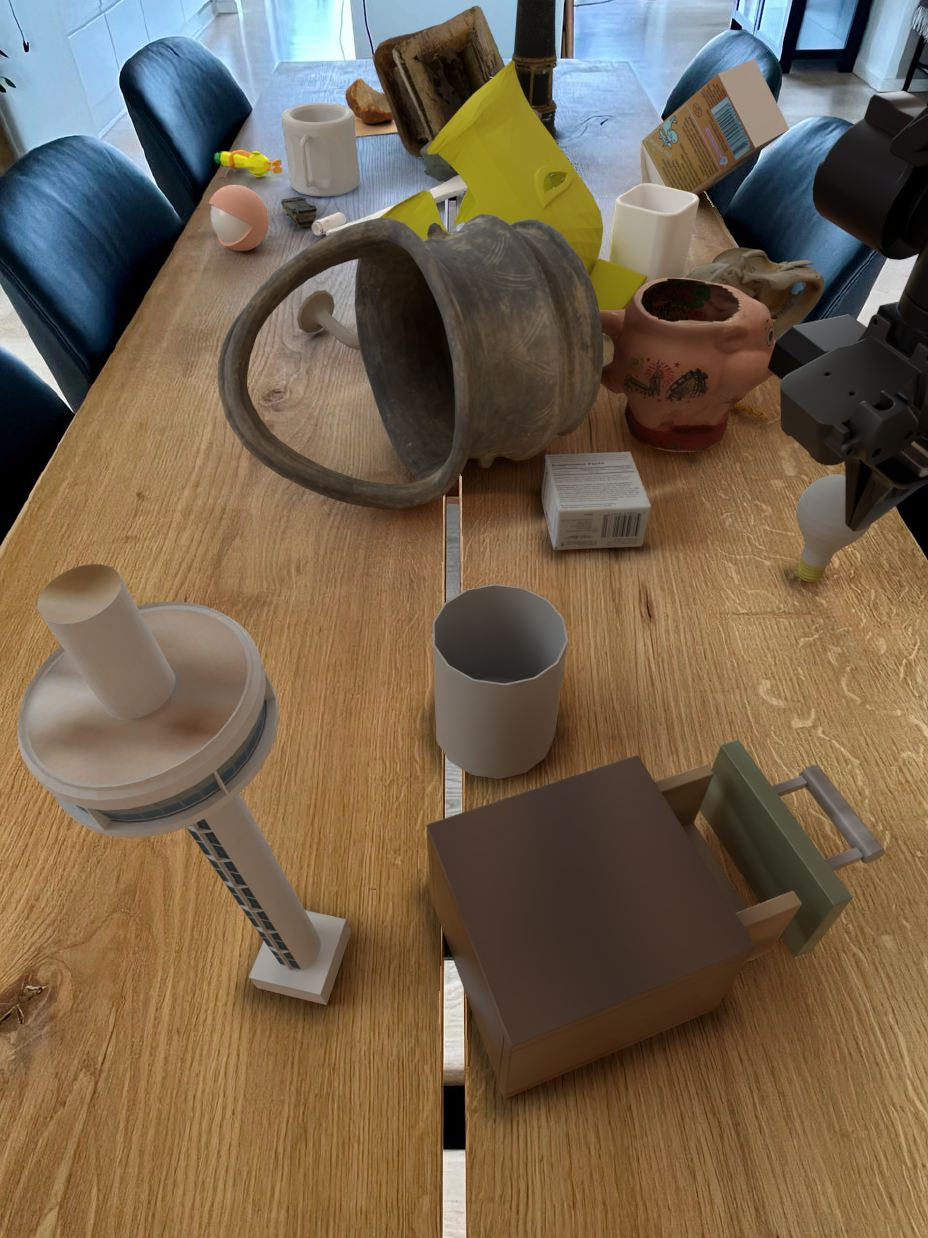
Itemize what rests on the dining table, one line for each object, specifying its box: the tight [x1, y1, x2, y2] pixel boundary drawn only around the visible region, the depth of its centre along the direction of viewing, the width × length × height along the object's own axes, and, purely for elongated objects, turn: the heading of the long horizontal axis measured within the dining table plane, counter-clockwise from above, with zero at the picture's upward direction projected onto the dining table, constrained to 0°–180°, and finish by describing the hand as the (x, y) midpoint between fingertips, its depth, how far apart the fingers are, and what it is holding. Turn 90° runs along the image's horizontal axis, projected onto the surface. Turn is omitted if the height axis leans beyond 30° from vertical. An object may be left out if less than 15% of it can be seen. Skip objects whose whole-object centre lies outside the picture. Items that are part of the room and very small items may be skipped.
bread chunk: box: [345, 77, 398, 137], centre depth 149 cm, size 15×11×11 cm
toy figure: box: [214, 149, 283, 179], centre depth 132 cm, size 7×4×12 cm
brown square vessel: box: [371, 5, 506, 159], centre depth 138 cm, size 22×24×20 cm
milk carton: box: [639, 58, 790, 196], centre depth 122 cm, size 11×11×19 cm
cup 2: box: [608, 183, 700, 285], centre depth 92 cm, size 7×7×15 cm
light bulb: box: [796, 473, 872, 583], centre depth 66 cm, size 6×5×10 cm
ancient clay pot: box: [216, 214, 604, 511], centre depth 72 cm, size 22×23×30 cm
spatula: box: [325, 175, 468, 236], centre depth 121 cm, size 28×4×2 cm, turn 137°
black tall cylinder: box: [511, 0, 558, 139], centre depth 136 cm, size 9×9×30 cm
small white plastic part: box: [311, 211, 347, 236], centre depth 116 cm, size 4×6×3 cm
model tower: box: [17, 563, 352, 1006], centre depth 36 cm, size 8×8×30 cm
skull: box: [685, 247, 825, 341], centre depth 91 cm, size 12×18×12 cm
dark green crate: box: [280, 196, 318, 228], centre depth 119 cm, size 4×8×2 cm, turn 25°
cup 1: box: [432, 583, 569, 780], centre depth 55 cm, size 8×8×10 cm
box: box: [540, 450, 652, 551], centre depth 72 cm, size 8×4×9 cm
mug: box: [280, 102, 361, 197], centre depth 125 cm, size 14×11×10 cm
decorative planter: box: [599, 277, 776, 453], centre depth 79 cm, size 20×12×14 cm, turn 87°
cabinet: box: [425, 754, 756, 1100], centre depth 45 cm, size 13×12×9 cm
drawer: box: [654, 739, 886, 963], centre depth 47 cm, size 16×10×7 cm, turn 111°
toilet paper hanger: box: [296, 289, 361, 351], centre depth 99 cm, size 25×8×5 cm, turn 135°
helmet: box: [380, 59, 647, 335], centre depth 90 cm, size 16×23×30 cm
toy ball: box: [208, 184, 270, 252], centre depth 111 cm, size 8×8×8 cm
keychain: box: [732, 403, 766, 420], centre depth 86 cm, size 8×1×1 cm, turn 43°
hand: (855, 527), depth 54 cm, fingers closed
